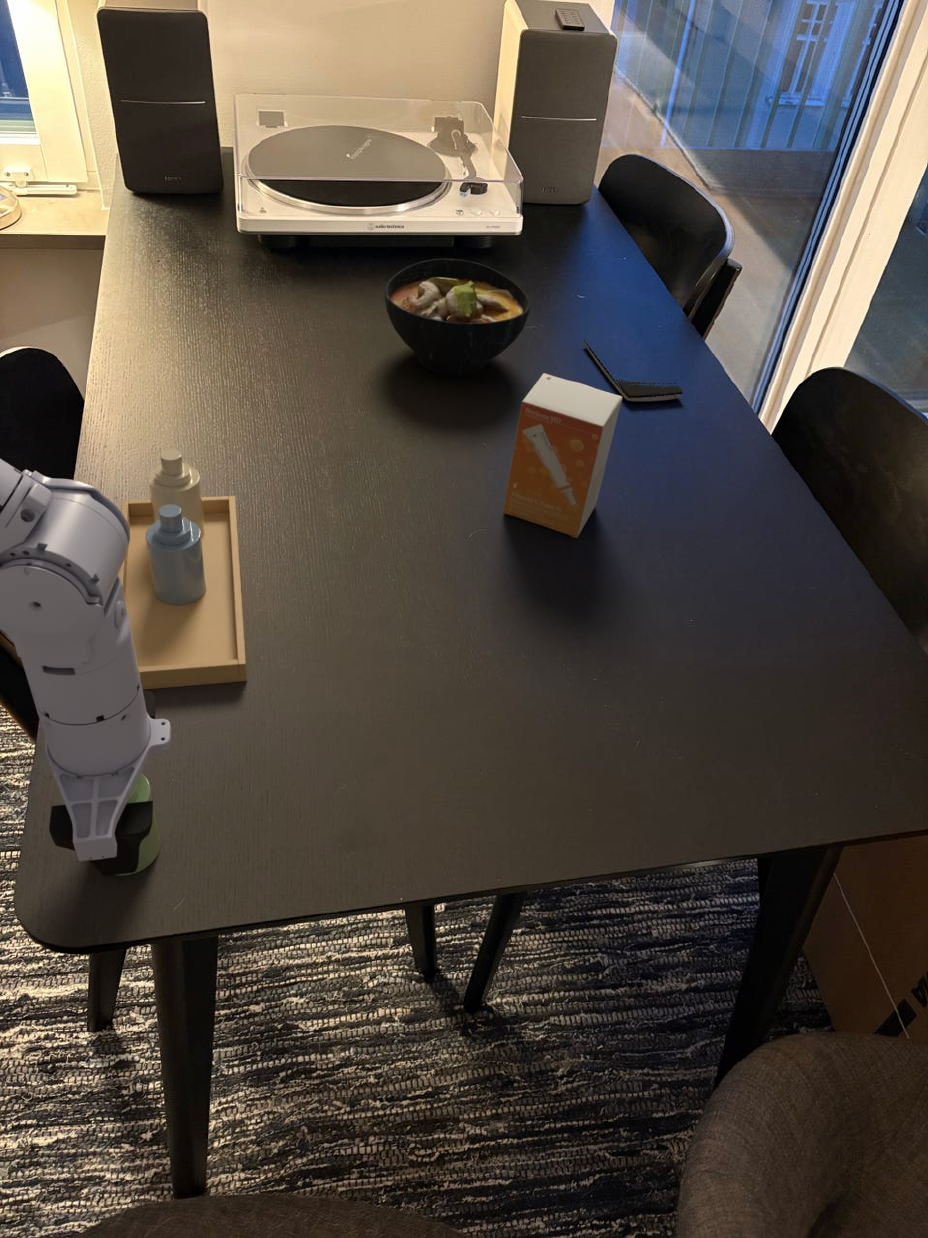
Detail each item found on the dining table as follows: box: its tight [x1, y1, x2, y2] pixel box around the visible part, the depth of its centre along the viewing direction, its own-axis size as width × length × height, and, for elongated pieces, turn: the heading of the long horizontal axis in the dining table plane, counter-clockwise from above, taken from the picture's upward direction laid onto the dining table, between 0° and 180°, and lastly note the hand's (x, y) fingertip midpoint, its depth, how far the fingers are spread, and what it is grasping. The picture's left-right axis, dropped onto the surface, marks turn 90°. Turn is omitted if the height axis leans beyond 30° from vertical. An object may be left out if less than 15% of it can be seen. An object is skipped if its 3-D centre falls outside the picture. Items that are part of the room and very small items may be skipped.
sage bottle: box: [115, 772, 162, 877], centre depth 63 cm, size 4×4×8 cm
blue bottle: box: [145, 504, 207, 605], centre depth 81 cm, size 4×4×8 cm
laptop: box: [583, 339, 684, 402], centre depth 120 cm, size 7×1×15 cm
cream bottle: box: [147, 448, 205, 538], centre depth 86 cm, size 4×4×8 cm
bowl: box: [384, 258, 531, 377], centre depth 115 cm, size 17×17×10 cm
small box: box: [503, 372, 623, 539], centre depth 94 cm, size 8×6×13 cm
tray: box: [118, 495, 248, 690], centre depth 83 cm, size 10×22×2 cm, turn 12°
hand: (121, 826), depth 64 cm, fingers open, 6 cm apart
